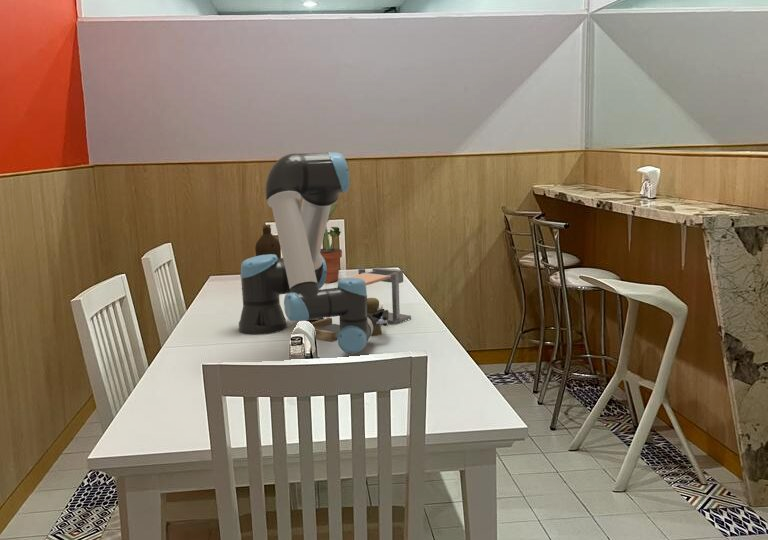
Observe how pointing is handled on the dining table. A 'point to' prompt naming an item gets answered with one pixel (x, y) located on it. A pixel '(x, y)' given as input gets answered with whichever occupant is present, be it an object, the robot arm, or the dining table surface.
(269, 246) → the olive oil
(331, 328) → the mat
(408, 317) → the flap stand
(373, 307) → the cork
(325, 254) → the potted plant
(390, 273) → the drop flap
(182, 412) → the dining table surface
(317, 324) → the wooden picture frame
